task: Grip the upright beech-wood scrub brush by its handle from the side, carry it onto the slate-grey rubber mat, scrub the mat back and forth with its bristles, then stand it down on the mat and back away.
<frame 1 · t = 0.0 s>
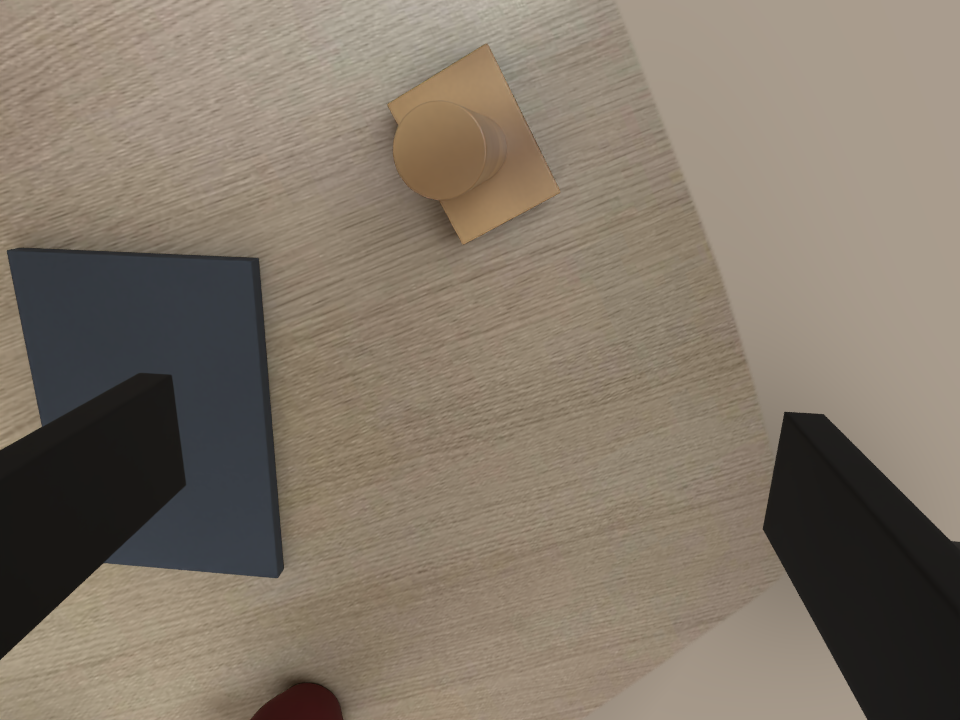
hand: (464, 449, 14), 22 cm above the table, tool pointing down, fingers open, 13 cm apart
scrub mat: (160, 418, 40), on the table
mug: (296, 701, 46), on the table
scrub brush: (480, 148, 33), on the table
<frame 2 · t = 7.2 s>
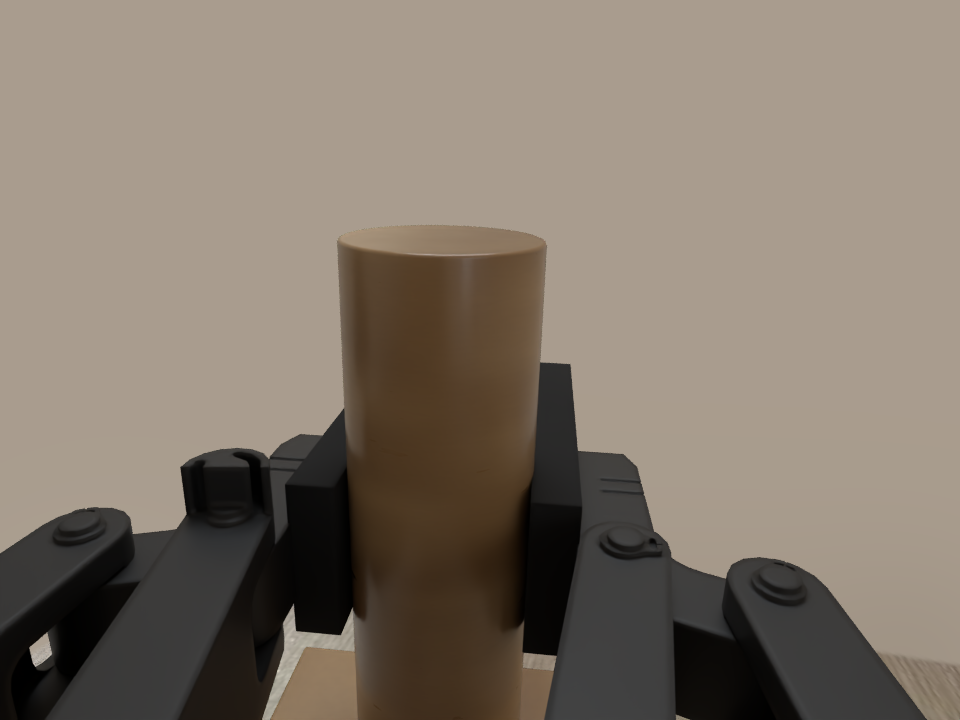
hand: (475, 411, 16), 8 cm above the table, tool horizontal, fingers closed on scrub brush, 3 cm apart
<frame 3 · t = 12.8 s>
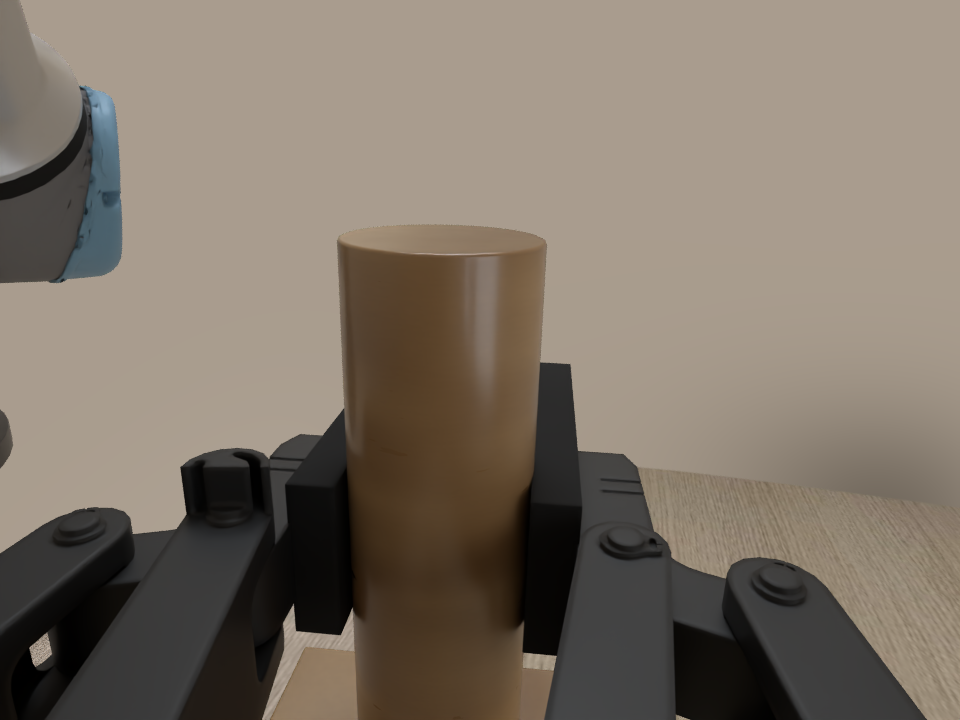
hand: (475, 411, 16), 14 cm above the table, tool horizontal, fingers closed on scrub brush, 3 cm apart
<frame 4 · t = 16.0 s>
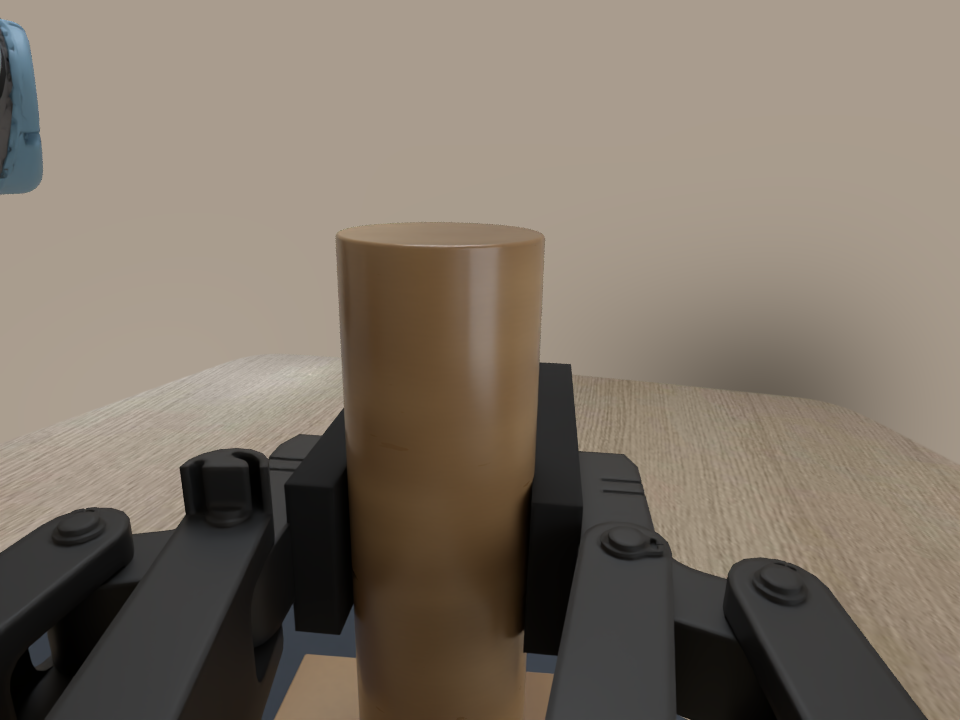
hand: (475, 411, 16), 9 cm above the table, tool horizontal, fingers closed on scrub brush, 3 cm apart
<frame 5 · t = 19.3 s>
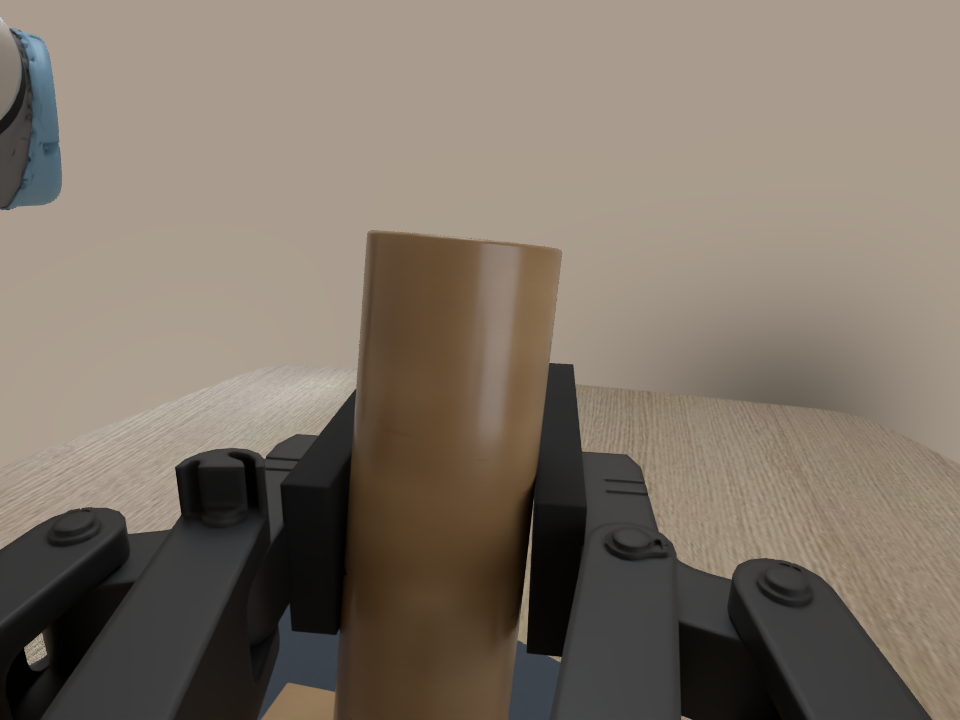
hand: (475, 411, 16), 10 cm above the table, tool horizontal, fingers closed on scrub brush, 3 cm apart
when the fingers open (9 cm above the table, at t = 20.7 s): scrub brush stays where it is, resting on scrub mat.
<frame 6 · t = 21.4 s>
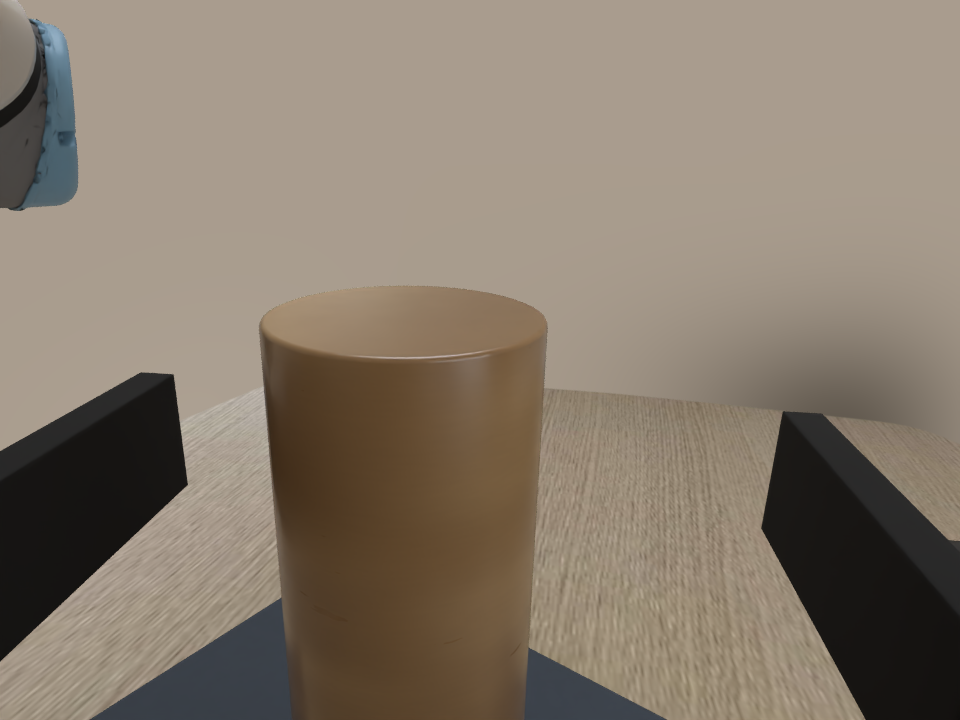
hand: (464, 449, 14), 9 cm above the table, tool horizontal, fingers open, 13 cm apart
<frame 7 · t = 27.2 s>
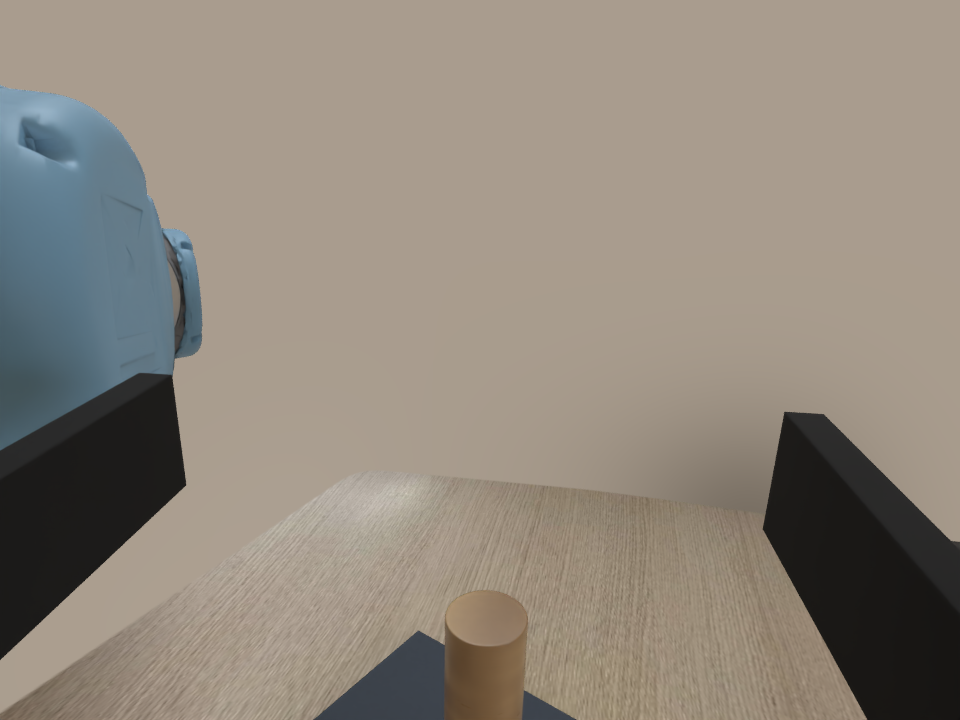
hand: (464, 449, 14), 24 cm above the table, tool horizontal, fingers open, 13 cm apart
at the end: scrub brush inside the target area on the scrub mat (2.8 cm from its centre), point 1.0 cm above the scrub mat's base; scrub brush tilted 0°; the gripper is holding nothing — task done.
